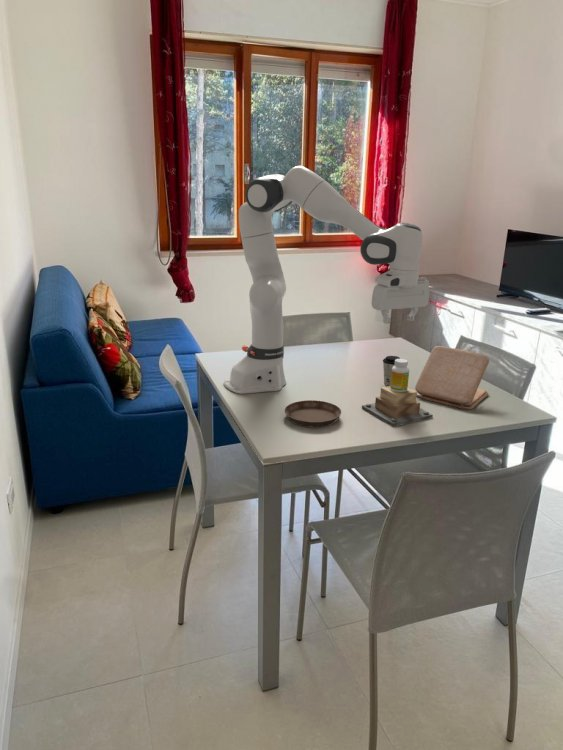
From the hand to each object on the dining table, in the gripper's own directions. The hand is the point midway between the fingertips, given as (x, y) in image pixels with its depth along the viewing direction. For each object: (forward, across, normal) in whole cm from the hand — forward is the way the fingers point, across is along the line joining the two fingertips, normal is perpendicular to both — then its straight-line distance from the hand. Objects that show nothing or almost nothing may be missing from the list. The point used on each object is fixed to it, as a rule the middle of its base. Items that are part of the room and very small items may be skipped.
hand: (398, 321), depth 184 cm
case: (+29, -27, 0) cm, 40 cm away
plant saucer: (+30, +28, -3) cm, 41 cm away
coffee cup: (+29, -15, -18) cm, 38 cm away
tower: (+29, +1, +5) cm, 29 cm away
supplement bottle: (+21, +1, +5) cm, 22 cm away
